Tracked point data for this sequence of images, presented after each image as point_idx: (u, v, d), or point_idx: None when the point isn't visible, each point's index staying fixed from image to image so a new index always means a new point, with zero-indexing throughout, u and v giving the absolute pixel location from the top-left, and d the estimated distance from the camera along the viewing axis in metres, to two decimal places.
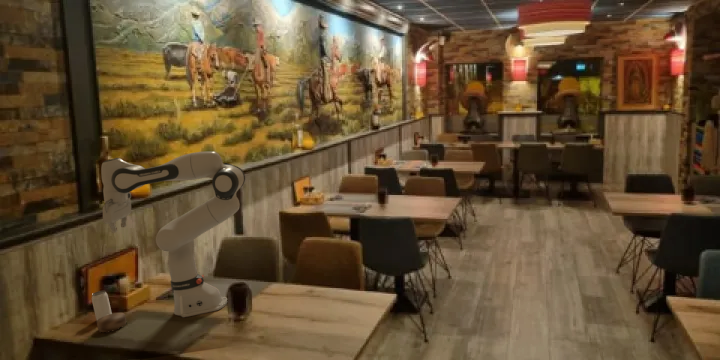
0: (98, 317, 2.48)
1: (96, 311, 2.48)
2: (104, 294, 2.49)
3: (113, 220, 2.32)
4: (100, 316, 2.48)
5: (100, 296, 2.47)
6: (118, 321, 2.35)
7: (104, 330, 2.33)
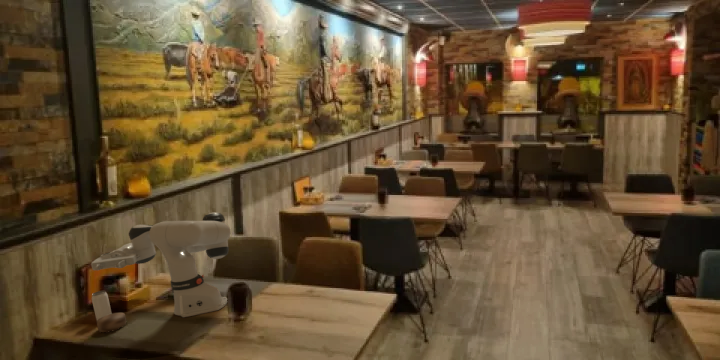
0: (98, 317, 2.48)
1: (96, 311, 2.48)
2: (104, 294, 2.49)
3: None
4: (100, 316, 2.48)
5: (100, 296, 2.47)
6: (118, 321, 2.35)
7: (104, 330, 2.33)
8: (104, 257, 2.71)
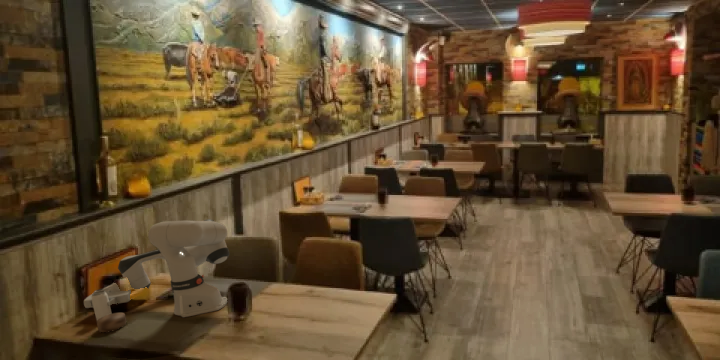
0: (98, 317, 2.48)
1: (96, 311, 2.48)
2: (104, 294, 2.49)
3: None
4: (100, 316, 2.48)
5: (100, 296, 2.47)
6: (118, 321, 2.35)
7: (104, 330, 2.33)
8: None
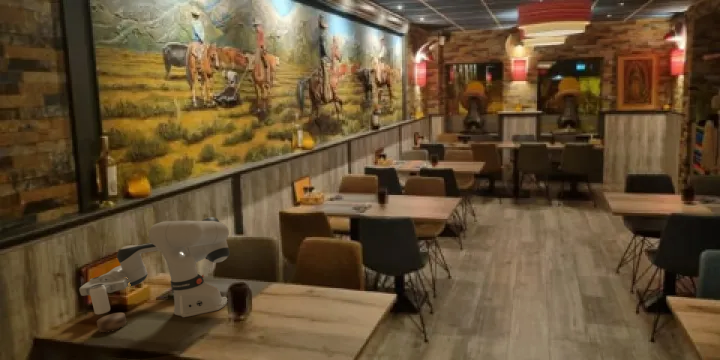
0: (96, 310, 2.47)
1: (94, 304, 2.47)
2: (102, 287, 2.48)
3: None
4: (98, 309, 2.47)
5: (98, 289, 2.47)
6: (118, 321, 2.35)
7: (104, 330, 2.33)
8: (93, 281, 2.59)
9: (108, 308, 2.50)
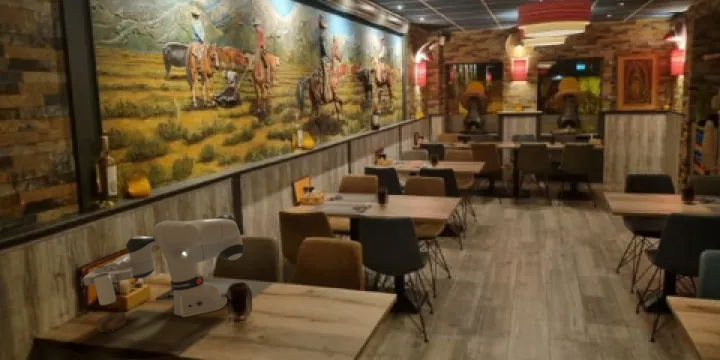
0: (101, 300, 2.34)
1: (99, 294, 2.34)
2: (107, 276, 2.35)
3: (127, 279, 2.41)
4: (103, 299, 2.34)
5: (103, 278, 2.33)
6: (118, 321, 2.35)
7: (104, 330, 2.33)
8: (98, 271, 2.45)
9: (114, 298, 2.36)
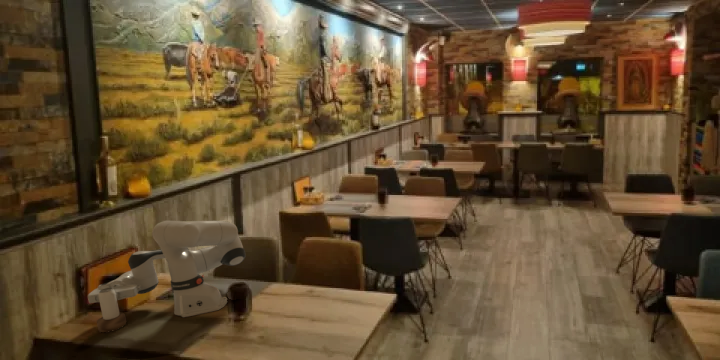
0: (105, 315, 2.35)
1: (103, 309, 2.35)
2: (112, 291, 2.36)
3: None
4: (107, 314, 2.35)
5: (107, 293, 2.35)
6: (118, 321, 2.35)
7: (104, 330, 2.33)
8: (102, 288, 2.47)
9: (117, 313, 2.38)
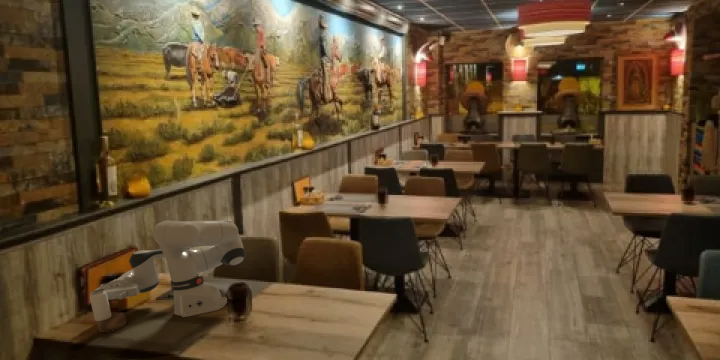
0: (96, 317, 2.36)
1: (94, 310, 2.35)
2: (102, 293, 2.36)
3: None
4: (98, 316, 2.35)
5: (98, 295, 2.35)
6: (118, 321, 2.35)
7: (104, 330, 2.33)
8: (104, 287, 2.49)
9: (109, 315, 2.38)
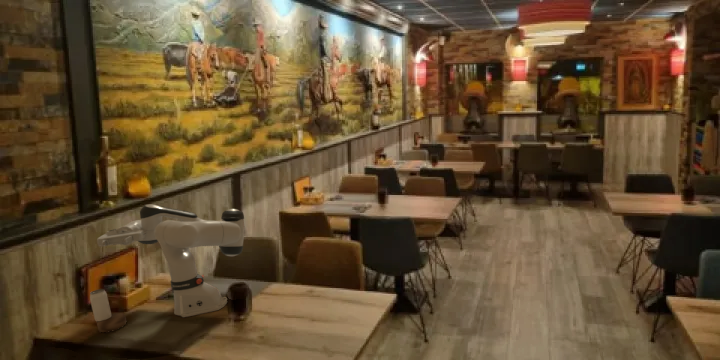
0: (96, 317, 2.36)
1: (94, 310, 2.35)
2: (102, 293, 2.36)
3: (138, 240, 2.57)
4: (98, 316, 2.35)
5: (98, 295, 2.35)
6: (118, 321, 2.35)
7: (104, 330, 2.33)
8: (110, 233, 2.62)
9: (109, 315, 2.38)
